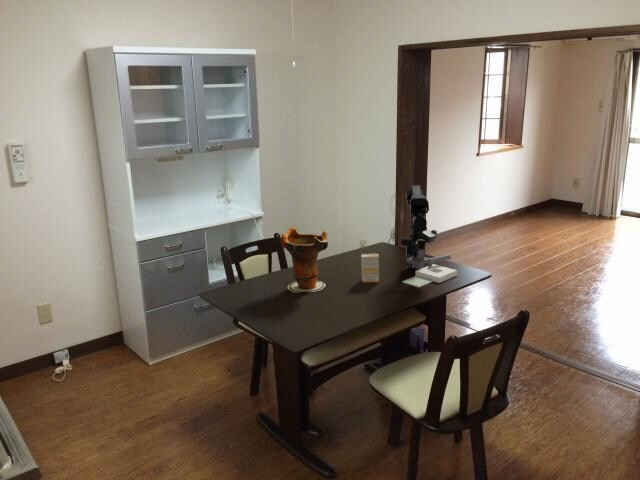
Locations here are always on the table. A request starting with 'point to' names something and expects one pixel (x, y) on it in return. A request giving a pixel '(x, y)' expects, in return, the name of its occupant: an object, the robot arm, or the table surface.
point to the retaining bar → (438, 259)
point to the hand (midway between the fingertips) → (418, 256)
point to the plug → (418, 259)
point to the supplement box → (370, 267)
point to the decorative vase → (304, 258)
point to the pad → (417, 281)
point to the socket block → (436, 273)
